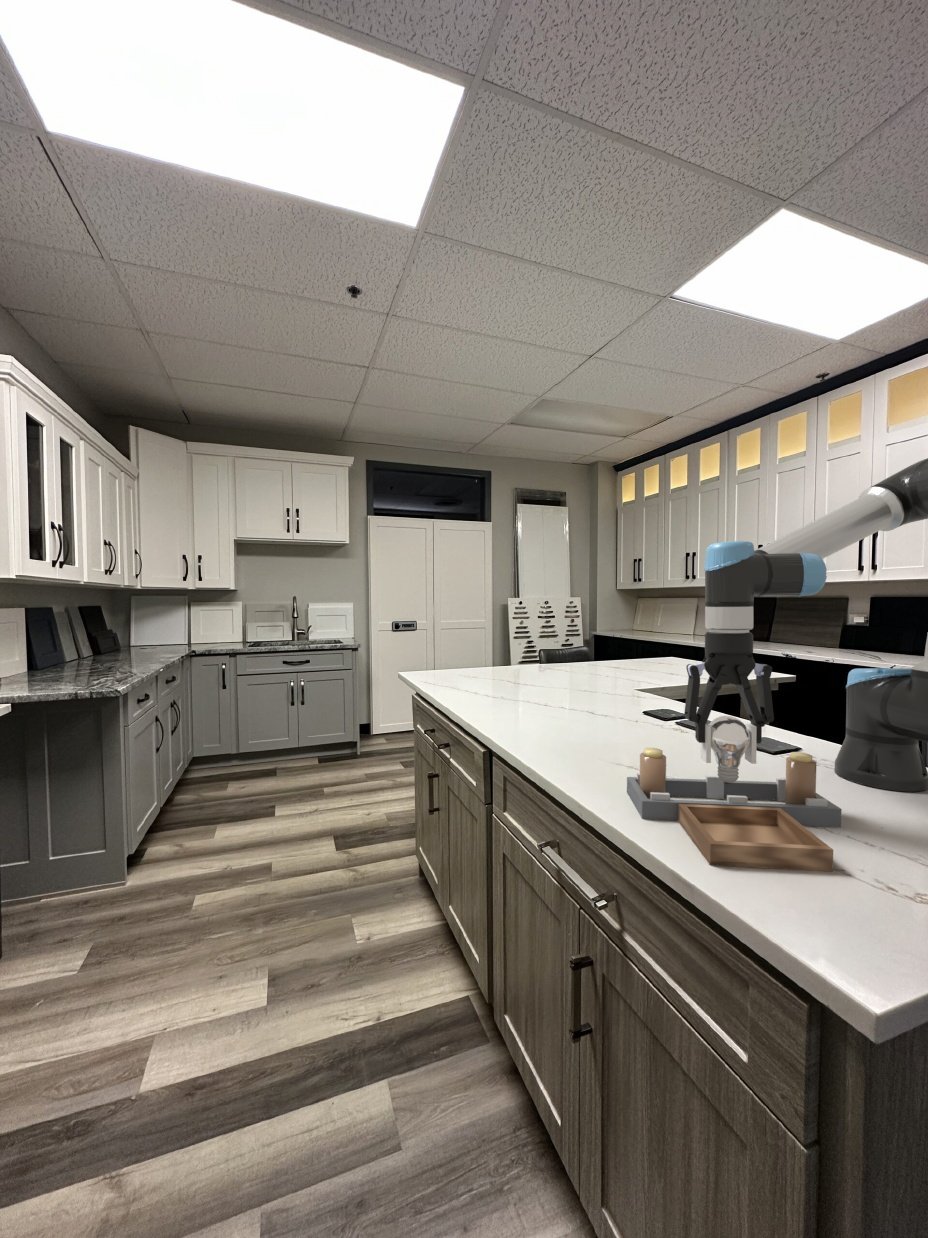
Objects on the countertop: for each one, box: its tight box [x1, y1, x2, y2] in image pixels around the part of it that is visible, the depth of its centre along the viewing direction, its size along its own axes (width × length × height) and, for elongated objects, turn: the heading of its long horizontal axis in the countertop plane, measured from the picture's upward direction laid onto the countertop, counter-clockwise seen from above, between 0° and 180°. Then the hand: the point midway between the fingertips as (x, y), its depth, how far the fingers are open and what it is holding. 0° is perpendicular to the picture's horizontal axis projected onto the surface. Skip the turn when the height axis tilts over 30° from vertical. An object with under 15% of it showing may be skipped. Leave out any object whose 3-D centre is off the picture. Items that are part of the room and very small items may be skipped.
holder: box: [626, 772, 843, 828], centre depth 90 cm, size 31×12×4 cm, turn 84°
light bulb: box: [708, 715, 750, 784], centre depth 90 cm, size 7×7×12 cm
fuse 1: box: [639, 747, 667, 799], centre depth 91 cm, size 4×4×10 cm
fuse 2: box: [784, 751, 817, 805], centre depth 89 cm, size 4×4×10 cm
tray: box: [677, 804, 834, 872], centre depth 77 cm, size 16×14×3 cm
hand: (728, 760), depth 90 cm, fingers closed on light bulb, 7 cm apart
